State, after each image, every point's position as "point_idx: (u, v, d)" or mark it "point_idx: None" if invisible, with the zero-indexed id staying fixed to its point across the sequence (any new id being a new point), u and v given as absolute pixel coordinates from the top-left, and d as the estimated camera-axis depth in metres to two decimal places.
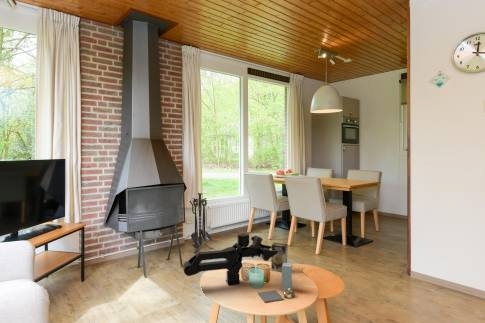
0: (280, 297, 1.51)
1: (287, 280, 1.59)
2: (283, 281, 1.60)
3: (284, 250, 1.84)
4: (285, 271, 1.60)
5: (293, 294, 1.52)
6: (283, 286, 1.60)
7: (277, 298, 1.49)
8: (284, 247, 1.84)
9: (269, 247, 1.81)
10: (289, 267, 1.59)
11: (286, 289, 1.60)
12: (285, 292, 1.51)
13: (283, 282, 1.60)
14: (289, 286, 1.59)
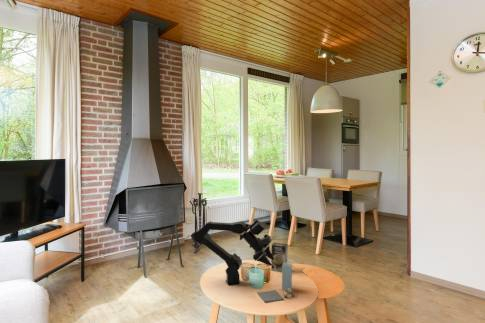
0: (280, 297, 1.51)
1: (287, 280, 1.59)
2: (283, 281, 1.60)
3: (284, 250, 1.84)
4: (285, 271, 1.60)
5: (293, 294, 1.52)
6: (283, 286, 1.60)
7: (277, 298, 1.49)
8: (284, 247, 1.84)
9: (271, 257, 1.68)
10: (289, 267, 1.59)
11: (286, 289, 1.60)
12: (285, 292, 1.51)
13: (283, 282, 1.60)
14: (289, 286, 1.59)
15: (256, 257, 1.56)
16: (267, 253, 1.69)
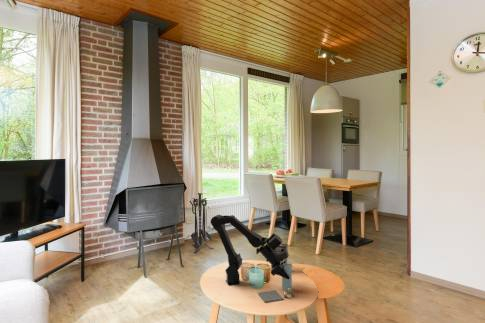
0: (280, 297, 1.51)
1: (287, 280, 1.59)
2: (283, 281, 1.60)
3: None
4: None
5: (293, 294, 1.52)
6: (283, 286, 1.60)
7: (277, 298, 1.49)
8: (284, 247, 1.84)
9: None
10: (289, 267, 1.59)
11: (286, 289, 1.60)
12: (285, 292, 1.51)
13: (283, 282, 1.60)
14: (289, 286, 1.59)
15: (274, 272, 1.54)
16: None
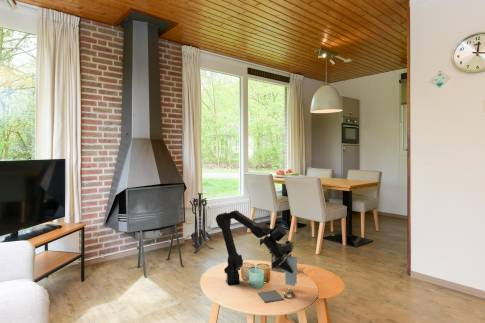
0: (280, 297, 1.51)
1: (291, 274, 1.50)
2: (286, 275, 1.51)
3: None
4: None
5: (293, 294, 1.52)
6: (286, 280, 1.51)
7: (277, 298, 1.49)
8: None
9: None
10: (293, 260, 1.50)
11: (289, 284, 1.51)
12: (285, 292, 1.51)
13: (286, 276, 1.51)
14: (292, 281, 1.50)
15: (275, 265, 1.46)
16: None
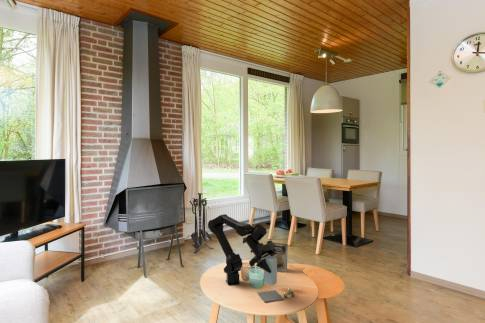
0: (280, 297, 1.51)
1: (269, 274, 1.50)
2: (265, 274, 1.51)
3: (284, 250, 1.84)
4: None
5: (293, 294, 1.52)
6: (265, 280, 1.52)
7: (277, 298, 1.49)
8: (284, 247, 1.84)
9: None
10: (271, 260, 1.50)
11: (268, 283, 1.51)
12: (285, 292, 1.51)
13: (265, 275, 1.52)
14: (271, 280, 1.50)
15: (251, 263, 1.48)
16: None
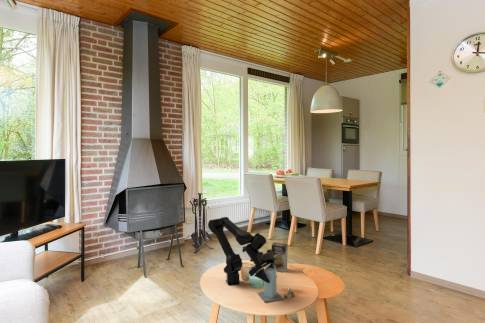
0: (280, 297, 1.51)
1: (269, 286, 1.50)
2: (265, 287, 1.52)
3: (284, 250, 1.84)
4: None
5: (293, 294, 1.52)
6: (265, 292, 1.52)
7: (277, 298, 1.49)
8: (284, 247, 1.84)
9: None
10: (270, 272, 1.50)
11: (268, 295, 1.51)
12: (285, 292, 1.51)
13: (265, 288, 1.52)
14: (270, 293, 1.50)
15: (251, 273, 1.48)
16: None
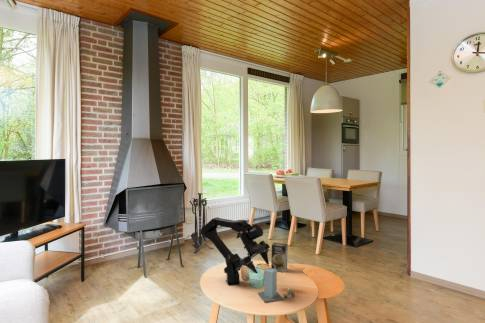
0: (280, 297, 1.51)
1: (269, 286, 1.50)
2: (265, 287, 1.52)
3: (284, 250, 1.84)
4: (267, 277, 1.51)
5: (293, 294, 1.52)
6: (265, 292, 1.52)
7: (277, 298, 1.49)
8: (284, 247, 1.84)
9: (266, 262, 1.64)
10: (271, 273, 1.50)
11: (268, 296, 1.51)
12: (285, 292, 1.51)
13: (265, 288, 1.52)
14: (271, 293, 1.50)
15: (241, 263, 1.57)
16: (264, 256, 1.65)
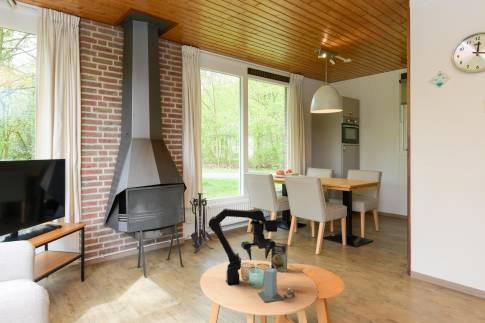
0: (280, 297, 1.51)
1: (269, 286, 1.50)
2: (265, 287, 1.52)
3: (284, 250, 1.84)
4: (267, 277, 1.51)
5: (293, 294, 1.52)
6: (265, 292, 1.52)
7: (277, 298, 1.49)
8: (284, 247, 1.84)
9: (265, 256, 1.71)
10: (271, 273, 1.50)
11: (268, 296, 1.51)
12: (285, 292, 1.51)
13: (265, 288, 1.52)
14: (271, 293, 1.50)
15: (241, 245, 1.68)
16: (266, 250, 1.71)
